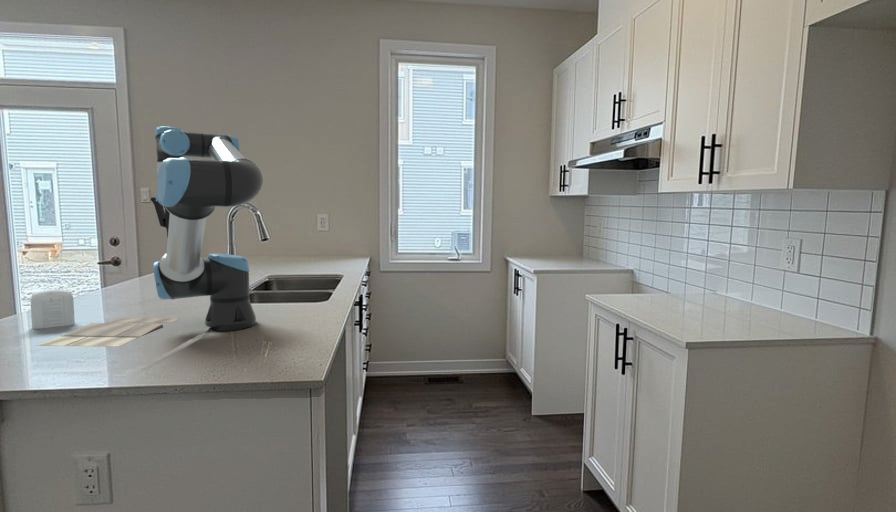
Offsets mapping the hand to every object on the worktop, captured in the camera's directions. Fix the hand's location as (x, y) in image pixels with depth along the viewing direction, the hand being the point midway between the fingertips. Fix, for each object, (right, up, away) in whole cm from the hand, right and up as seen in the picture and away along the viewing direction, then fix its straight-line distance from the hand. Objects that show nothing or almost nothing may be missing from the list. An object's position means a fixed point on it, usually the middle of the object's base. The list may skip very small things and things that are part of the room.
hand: (174, 248), depth 157 cm
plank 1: (-9, -26, -15) cm, 31 cm away
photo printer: (-31, -25, -10) cm, 42 cm away
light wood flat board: (-9, -27, -25) cm, 38 cm away
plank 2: (-8, -25, -3) cm, 26 cm away
